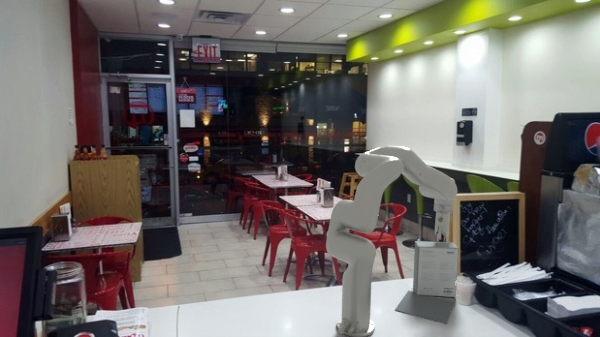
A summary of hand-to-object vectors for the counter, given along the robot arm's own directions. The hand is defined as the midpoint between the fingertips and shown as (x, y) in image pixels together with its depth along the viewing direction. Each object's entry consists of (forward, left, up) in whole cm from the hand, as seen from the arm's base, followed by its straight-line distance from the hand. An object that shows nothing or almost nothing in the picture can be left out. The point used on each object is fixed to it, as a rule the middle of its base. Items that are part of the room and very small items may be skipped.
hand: (441, 249), depth 168 cm
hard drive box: (-10, 0, -15) cm, 18 cm away
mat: (-23, 0, -15) cm, 27 cm away
